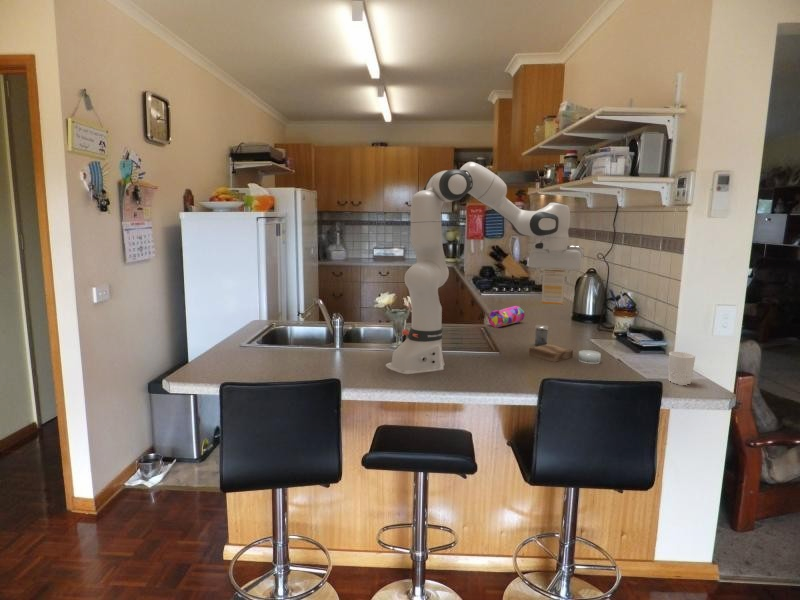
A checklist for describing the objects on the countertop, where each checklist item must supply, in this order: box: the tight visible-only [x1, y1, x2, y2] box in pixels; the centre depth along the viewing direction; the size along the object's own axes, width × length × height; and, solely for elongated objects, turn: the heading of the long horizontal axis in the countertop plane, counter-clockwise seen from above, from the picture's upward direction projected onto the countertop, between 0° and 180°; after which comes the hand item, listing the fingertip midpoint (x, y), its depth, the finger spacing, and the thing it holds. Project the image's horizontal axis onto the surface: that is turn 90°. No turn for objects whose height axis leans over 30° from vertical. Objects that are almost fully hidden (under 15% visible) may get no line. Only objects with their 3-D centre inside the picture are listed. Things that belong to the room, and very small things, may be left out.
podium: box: [528, 343, 574, 363], centre depth 210 cm, size 12×12×3 cm
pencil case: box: [488, 305, 525, 328], centre depth 269 cm, size 22×9×9 cm, turn 136°
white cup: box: [667, 350, 696, 385], centre depth 179 cm, size 8×8×10 cm
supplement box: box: [541, 269, 566, 305], centre depth 205 cm, size 8×5×13 cm, turn 70°
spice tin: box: [534, 324, 549, 347], centre depth 225 cm, size 5×5×9 cm
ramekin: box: [578, 349, 602, 365], centre depth 204 cm, size 8×8×4 cm
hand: (553, 280), depth 205 cm, fingers closed on supplement box, 8 cm apart
